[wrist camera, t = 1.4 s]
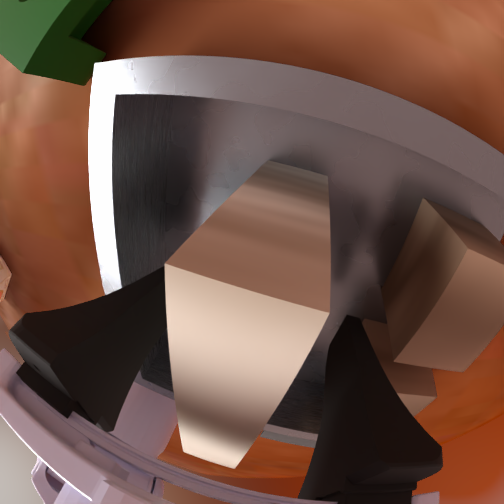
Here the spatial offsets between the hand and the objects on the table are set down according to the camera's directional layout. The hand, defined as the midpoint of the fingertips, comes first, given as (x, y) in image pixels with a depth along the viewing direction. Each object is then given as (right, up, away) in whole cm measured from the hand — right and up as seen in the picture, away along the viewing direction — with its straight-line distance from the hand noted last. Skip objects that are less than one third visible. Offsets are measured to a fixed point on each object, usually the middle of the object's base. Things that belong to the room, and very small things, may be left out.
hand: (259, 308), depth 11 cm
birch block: (+1, +1, +2) cm, 2 cm away
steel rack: (+3, +1, +3) cm, 4 cm away
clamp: (-11, +18, -2) cm, 21 cm away
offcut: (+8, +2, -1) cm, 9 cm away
